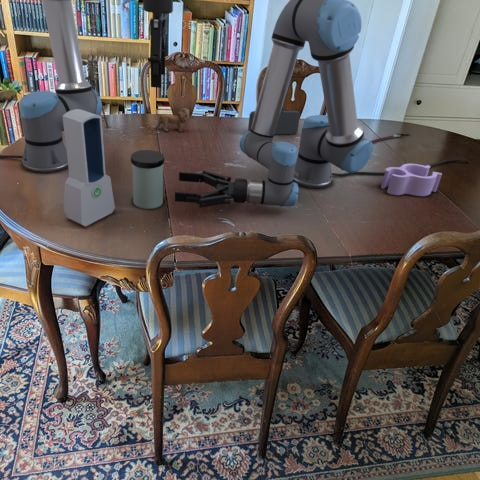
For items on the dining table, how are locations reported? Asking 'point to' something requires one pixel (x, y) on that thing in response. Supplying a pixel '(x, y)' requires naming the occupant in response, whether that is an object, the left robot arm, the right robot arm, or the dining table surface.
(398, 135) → the sword
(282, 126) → the handheld gaming console
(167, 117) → the lion figurine
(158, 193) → the jar
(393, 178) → the clip
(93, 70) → the miniature windmill
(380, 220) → the dining table surface
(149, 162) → the lid
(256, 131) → the right robot arm
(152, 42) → the left robot arm
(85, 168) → the electronic device
